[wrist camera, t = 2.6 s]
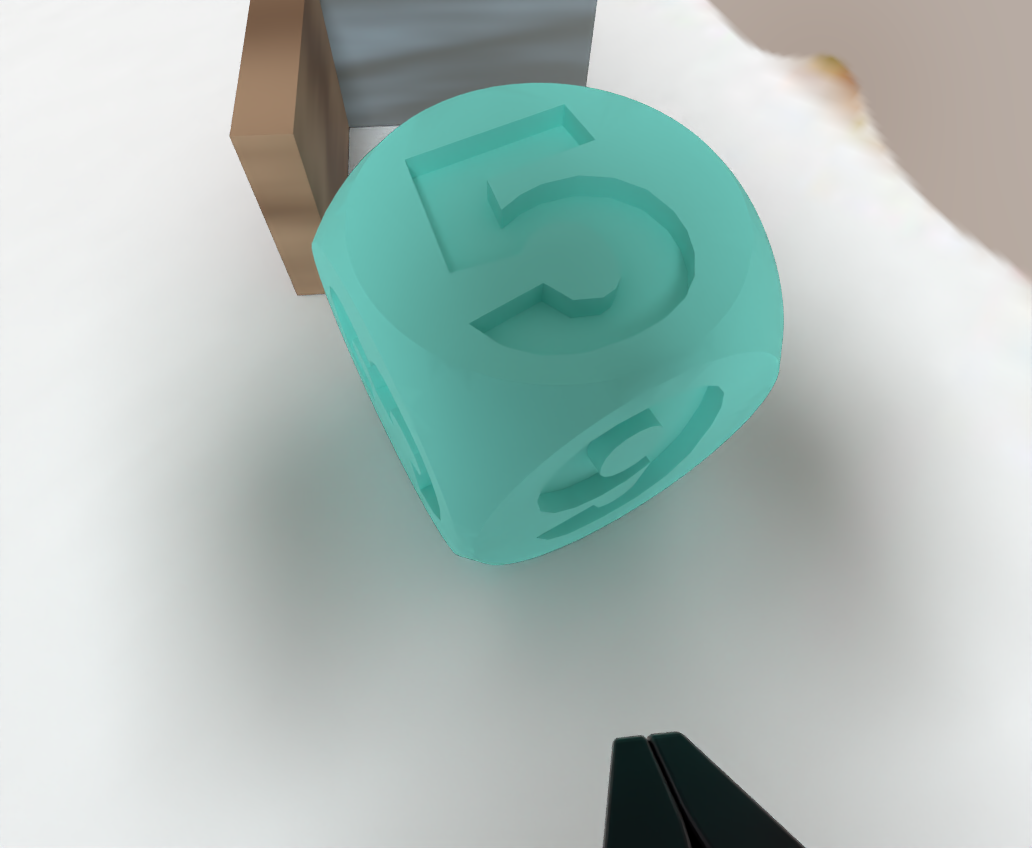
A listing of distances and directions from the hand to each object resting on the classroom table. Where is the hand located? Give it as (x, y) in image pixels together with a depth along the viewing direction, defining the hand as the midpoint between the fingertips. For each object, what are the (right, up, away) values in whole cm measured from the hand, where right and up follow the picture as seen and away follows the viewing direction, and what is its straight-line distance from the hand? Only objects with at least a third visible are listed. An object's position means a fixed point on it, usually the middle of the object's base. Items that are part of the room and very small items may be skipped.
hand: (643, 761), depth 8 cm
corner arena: (-4, +13, +15) cm, 21 cm away
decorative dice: (-1, +4, +11) cm, 12 cm away
